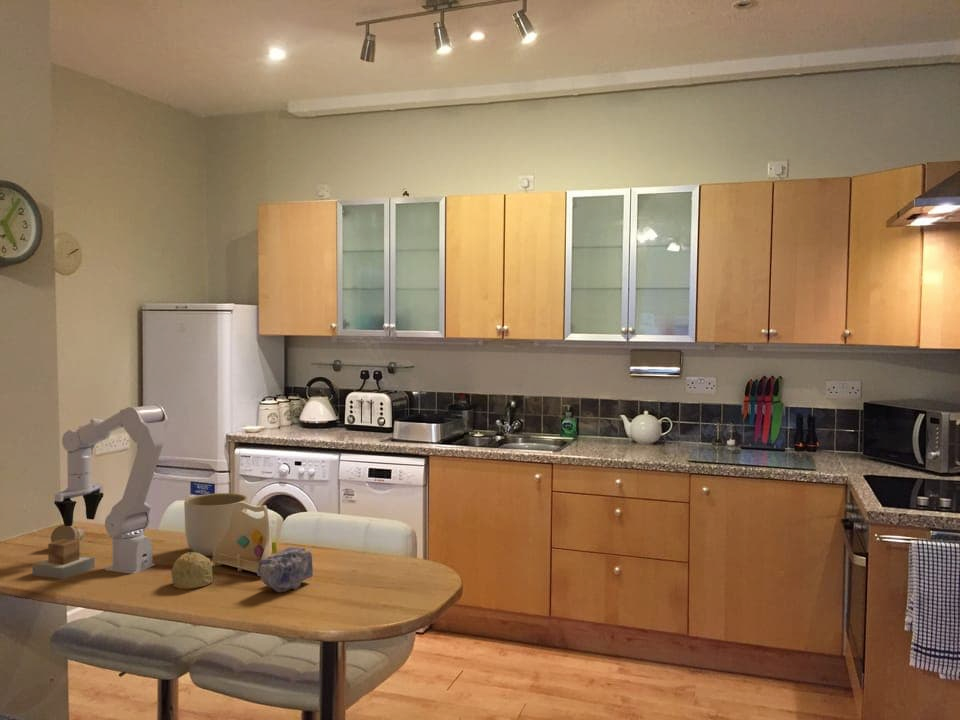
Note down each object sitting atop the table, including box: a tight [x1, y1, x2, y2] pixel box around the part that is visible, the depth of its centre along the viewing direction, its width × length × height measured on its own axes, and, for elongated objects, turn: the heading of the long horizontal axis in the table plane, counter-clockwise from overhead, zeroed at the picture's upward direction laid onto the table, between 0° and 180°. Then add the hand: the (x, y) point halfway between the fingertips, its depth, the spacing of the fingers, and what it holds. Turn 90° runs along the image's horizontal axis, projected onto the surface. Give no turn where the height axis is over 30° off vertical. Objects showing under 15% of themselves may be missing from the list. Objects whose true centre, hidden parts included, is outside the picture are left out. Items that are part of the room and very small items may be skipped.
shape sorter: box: [212, 501, 278, 574], centre depth 199 cm, size 20×10×18 cm, turn 57°
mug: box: [50, 523, 85, 543], centre depth 217 cm, size 8×10×10 cm
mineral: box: [256, 546, 314, 593], centre depth 182 cm, size 14×10×10 cm, turn 157°
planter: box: [183, 492, 248, 557], centre depth 215 cm, size 17×17×15 cm
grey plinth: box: [31, 555, 96, 580], centre depth 195 cm, size 10×10×3 cm
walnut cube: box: [47, 539, 80, 565], centre depth 195 cm, size 5×5×5 cm
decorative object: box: [170, 551, 214, 590], centre depth 185 cm, size 9×10×10 cm
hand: (79, 522), depth 206 cm, fingers open, 7 cm apart
